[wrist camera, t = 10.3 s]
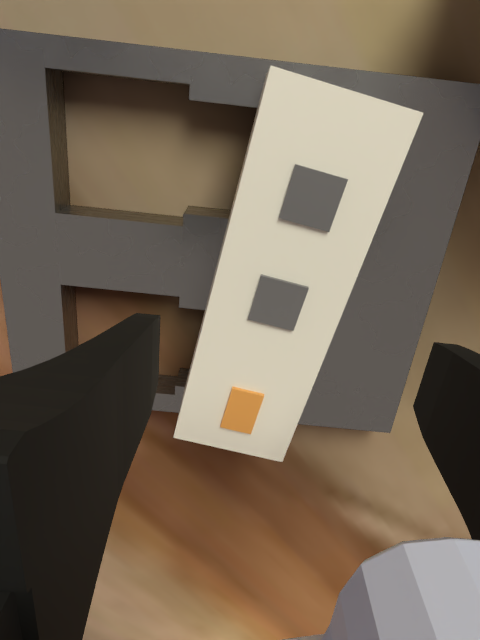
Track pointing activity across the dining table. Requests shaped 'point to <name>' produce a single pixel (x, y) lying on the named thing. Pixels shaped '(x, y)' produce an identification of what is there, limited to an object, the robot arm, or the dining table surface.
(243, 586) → the dining table surface
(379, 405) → the keyhole plate
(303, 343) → the power strip
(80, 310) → the dining table surface
